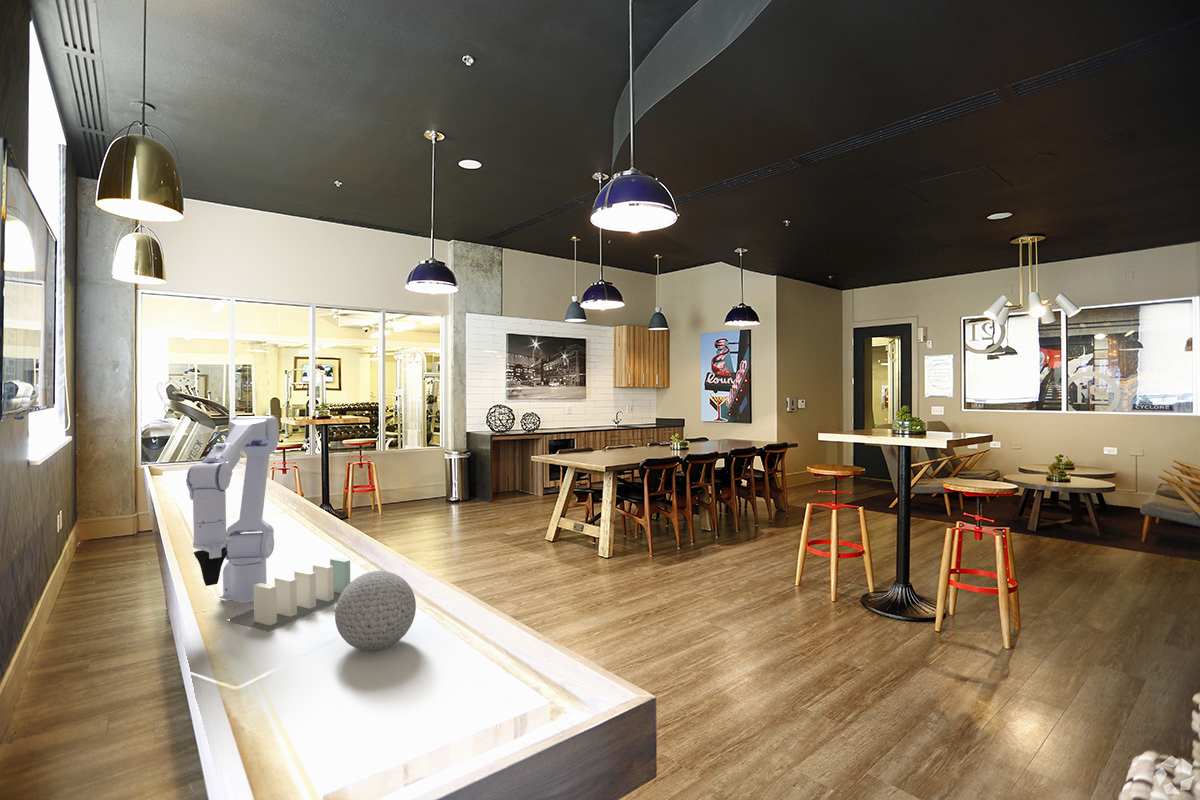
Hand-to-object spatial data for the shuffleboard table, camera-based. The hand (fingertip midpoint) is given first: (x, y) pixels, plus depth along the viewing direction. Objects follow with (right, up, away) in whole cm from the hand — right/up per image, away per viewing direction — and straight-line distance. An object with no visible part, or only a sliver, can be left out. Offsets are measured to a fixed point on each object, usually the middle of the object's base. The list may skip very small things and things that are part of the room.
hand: (211, 584), depth 124 cm
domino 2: (+11, -9, +9) cm, 17 cm away
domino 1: (+9, -9, +4) cm, 14 cm away
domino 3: (+13, -9, +13) cm, 21 cm away
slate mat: (+12, -9, +15) cm, 22 cm away
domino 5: (+17, -9, +22) cm, 30 cm away
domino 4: (+15, -9, +18) cm, 25 cm away
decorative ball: (+37, -11, -7) cm, 39 cm away
